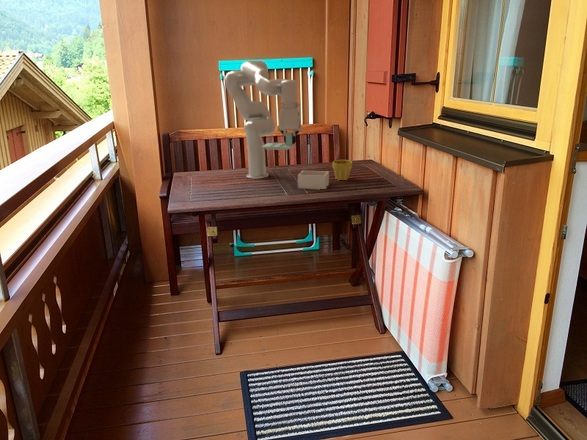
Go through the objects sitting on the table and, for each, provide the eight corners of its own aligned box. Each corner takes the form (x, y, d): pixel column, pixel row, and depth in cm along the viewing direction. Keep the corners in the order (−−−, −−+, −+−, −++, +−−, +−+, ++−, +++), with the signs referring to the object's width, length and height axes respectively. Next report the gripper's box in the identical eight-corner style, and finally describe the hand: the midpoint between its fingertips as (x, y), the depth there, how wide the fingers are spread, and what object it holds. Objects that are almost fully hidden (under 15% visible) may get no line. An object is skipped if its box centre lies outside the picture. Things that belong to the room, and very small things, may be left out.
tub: (302, 183, 240) (302, 170, 238) (328, 184, 237) (328, 171, 235) (298, 188, 231) (297, 175, 229) (325, 189, 228) (325, 175, 226)
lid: (268, 146, 239) (267, 131, 236) (295, 146, 235) (295, 131, 233) (261, 149, 229) (261, 134, 227) (290, 150, 226) (290, 134, 223)
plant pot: (349, 182, 241) (349, 164, 237) (330, 181, 244) (330, 163, 241) (353, 177, 250) (353, 160, 247) (335, 176, 253) (335, 159, 250)
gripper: (307, 105, 226) (307, 142, 232) (275, 105, 230) (276, 142, 235) (303, 106, 219) (304, 145, 225) (271, 106, 223) (272, 144, 229)
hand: (290, 143), depth 230 cm, fingers closed on lid, 2 cm apart
